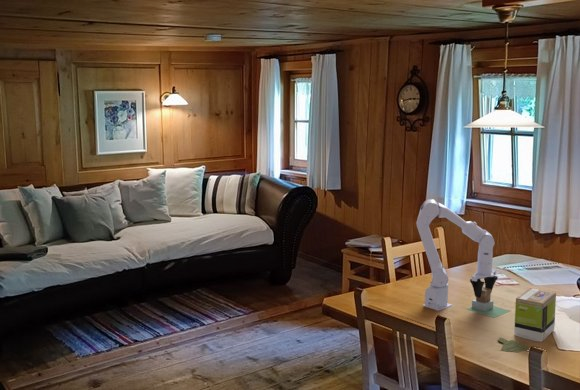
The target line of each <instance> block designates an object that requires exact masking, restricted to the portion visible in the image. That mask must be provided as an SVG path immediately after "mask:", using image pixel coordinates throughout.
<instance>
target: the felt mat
mask: <svg viewBox="0 0 580 390" xmlns="http://www.w3.org/2000/svg"><path fill="white" fill-rule="evenodd" d="M466 310H468V311H471V312H474V313H477V314H481V315H484V316H488V317H490V318H494V319H495V318H497V317H499V316H502V315H504V314H507V313H509V312H511V310H509V309H506V308H502V307H498V306H497V305H493V308H492V309H489V310H487V311H482V310H479V309H475V308H472V306H470V307H467V308H466Z"/></svg>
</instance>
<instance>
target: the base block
mask: <svg viewBox="0 0 580 390" xmlns="http://www.w3.org/2000/svg"><path fill="white" fill-rule="evenodd" d="M493 306H494V300H492V299H490V301H489V302H486V303H483V302H479V301H476V298H475V299H473V300H471V307H472V308H475V309H479V310H482V311H487V310H489V309H492V308H493Z"/></svg>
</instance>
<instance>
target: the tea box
mask: <svg viewBox="0 0 580 390" xmlns="http://www.w3.org/2000/svg"><path fill="white" fill-rule="evenodd" d="M556 300H557V293H556V292H553V291H547V290H541V289H536V288H531V287H529V288H528V289H527V290H526V291H524V292H523V293H521V294H520V295H519V296H517V297H516V298H515V305H514V306H515V307H514V308H515V310H514V327H513V329H514V330H513V331H514V333H513V335H514V336H517V337H520V338H521V339H525V340H530V341H534V342H538V343H542V342H543V341H544V340H545V339H546V338H547V337H548V336H549V335H550V334H552V333H553V332H554V331H555V327H556V326H555V323H556V320H555V319H556V305H557V304H556V302H557V301H556Z"/></svg>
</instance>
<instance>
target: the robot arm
mask: <svg viewBox="0 0 580 390" xmlns="http://www.w3.org/2000/svg"><path fill="white" fill-rule="evenodd" d="M436 217H438V218H441V219H442V218H443V219H444V218H446V219H447V220H448V221H450V222H452V223H453V224H455V225H457V227H459V228H461V233H462V234H464V235H465V236H467V237H468V238H470V239H471V240H472V241H473V242H475V243H476V242H477V243H478V251H477V265H476V272H475V273H474V274H473V275H471V278H470V279H469V282H470V284H471V286H472V288H473V293H474V296H475V298H476V297H479V298H480V297H481V292H482V287H485V288H488V289H491V293H492V292H493V288H494V285H495V283H496V281H497V280H498V279H499V278H498V276H497V270H495V269H493V257H494V254H493V253H494V252H493V250H494V246H495V244H496V243H495V239H494V237H493V235H492V234H491V233H490V232H489V231H487V230H486V229H483V228H482V227H480V226H478V225H477V224H478V223H477V222H476V221H472V220H469V221H466V220H464V219H463V218H462V217H461V216H460V215H458V214H457V213H455V212H454V211H452V209H450V208H449V207H448V206H446V205H444V204H442V203H440V202H437V200H435V199H433V198H428V199H426V200H424V201H423V203H422V204H421V206H420V209H419V212H418V216H417V220H416V228H417V230H418V231H417V232H418V233H419V237H420V239H421V242H422V245H423V248H424V250H425V254H426V257H427V260H428V263H429V267H430V270H431V277H432V278H431V279H432V280H431V281H430V284H429V287H427V288H426V289H425V291H424V304H422V307H425V308H429V309H432V310H435V311H441V310H445V309H447V308H450V307H452V306H453V305H452V304H451V303H448V302H449V276H448V272H447V269H446V268H445V267H444V265H443V264H442V261H441V259H440V254H439V253H438V250H437V247H436V244H435V240H434V238H433V237H434V236H433V235H432V232H431V229H430V225H431V223H432V221H433V220H434V219H435V218H436ZM482 279H484V280H483V281H482Z"/></svg>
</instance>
